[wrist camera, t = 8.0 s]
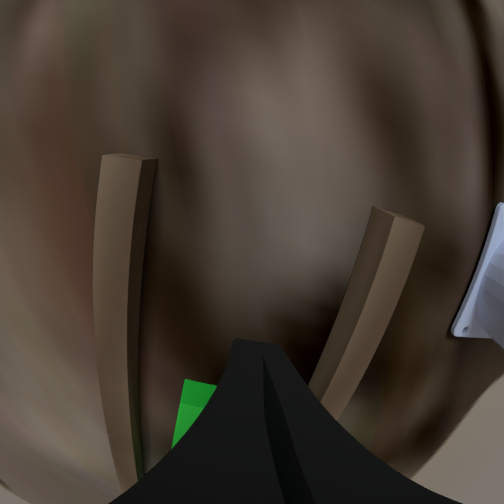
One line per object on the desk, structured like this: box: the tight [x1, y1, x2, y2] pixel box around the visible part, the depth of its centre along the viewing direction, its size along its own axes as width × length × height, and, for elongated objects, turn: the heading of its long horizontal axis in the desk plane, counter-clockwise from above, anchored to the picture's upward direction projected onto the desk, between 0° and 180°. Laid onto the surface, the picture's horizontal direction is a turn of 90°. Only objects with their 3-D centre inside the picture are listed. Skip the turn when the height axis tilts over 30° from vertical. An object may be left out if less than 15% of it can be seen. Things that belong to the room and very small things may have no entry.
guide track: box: [93, 153, 425, 493], centre depth 14 cm, size 12×25×3 cm, turn 168°
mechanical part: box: [172, 379, 217, 448], centre depth 13 cm, size 12×6×8 cm, turn 165°
